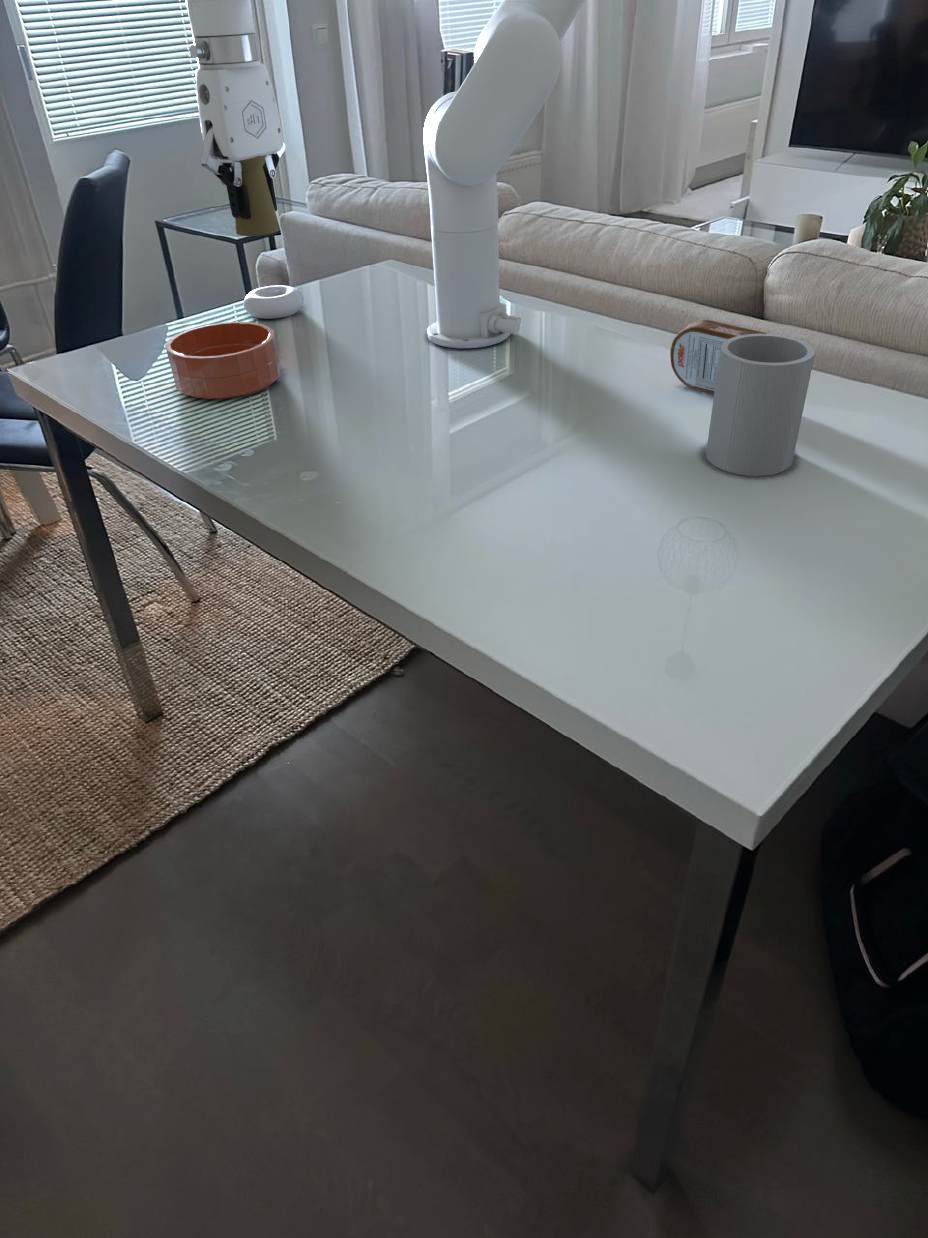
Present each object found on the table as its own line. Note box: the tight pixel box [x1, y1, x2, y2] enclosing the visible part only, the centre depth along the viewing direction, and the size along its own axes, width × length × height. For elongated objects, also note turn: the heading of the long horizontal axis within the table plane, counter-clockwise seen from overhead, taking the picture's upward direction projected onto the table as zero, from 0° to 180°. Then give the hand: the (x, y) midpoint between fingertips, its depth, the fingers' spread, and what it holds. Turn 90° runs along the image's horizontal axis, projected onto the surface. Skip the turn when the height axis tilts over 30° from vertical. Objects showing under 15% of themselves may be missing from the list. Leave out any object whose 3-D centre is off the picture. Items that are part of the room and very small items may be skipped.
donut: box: [243, 285, 305, 320], centre depth 142 cm, size 10×4×10 cm
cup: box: [705, 333, 816, 477], centre depth 90 cm, size 9×9×12 cm
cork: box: [226, 155, 281, 237], centre depth 114 cm, size 6×6×11 cm
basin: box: [165, 321, 282, 400], centre depth 117 cm, size 14×14×6 cm
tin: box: [669, 319, 768, 395], centre depth 105 cm, size 15×3×8 cm, turn 47°
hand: (255, 212), depth 116 cm, fingers closed on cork, 4 cm apart
